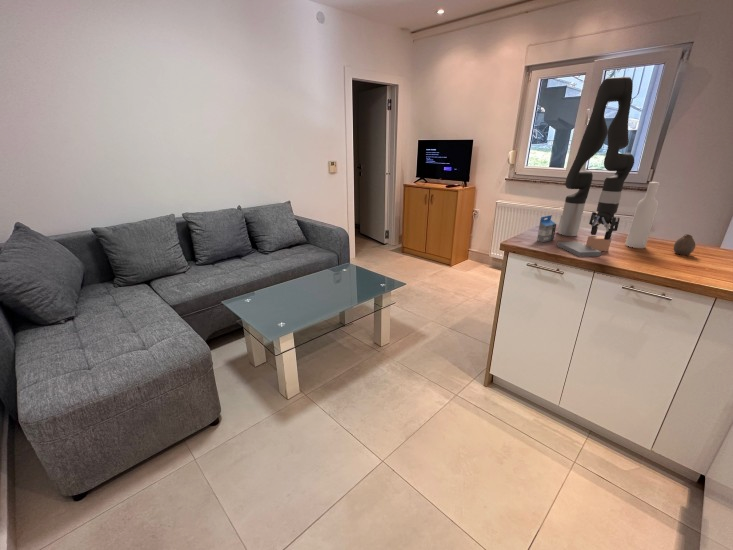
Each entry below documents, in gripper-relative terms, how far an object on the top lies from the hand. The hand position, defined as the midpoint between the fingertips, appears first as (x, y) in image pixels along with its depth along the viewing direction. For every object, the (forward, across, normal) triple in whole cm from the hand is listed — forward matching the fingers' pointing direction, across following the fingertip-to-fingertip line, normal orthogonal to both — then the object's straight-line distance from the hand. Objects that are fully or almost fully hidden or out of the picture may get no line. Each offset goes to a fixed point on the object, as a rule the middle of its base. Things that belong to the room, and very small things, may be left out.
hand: (599, 237), depth 153 cm
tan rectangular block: (+6, 0, 0) cm, 6 cm away
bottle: (+6, -5, +23) cm, 24 cm away
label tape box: (+6, -18, -14) cm, 24 cm away
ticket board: (+6, 0, -9) cm, 11 cm away
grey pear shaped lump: (+7, +8, +34) cm, 36 cm away
